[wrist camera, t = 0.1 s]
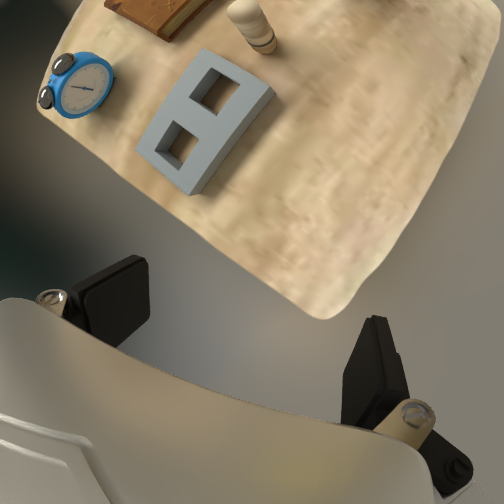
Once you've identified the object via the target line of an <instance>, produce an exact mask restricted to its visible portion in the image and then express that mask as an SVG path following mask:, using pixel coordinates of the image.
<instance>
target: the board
mask: <svg viewBox="0 0 504 504" xmlns="http://www.w3.org/2000/svg"><path fill="white" fill-rule="evenodd" d="M221 75H223V76H225V77H226V78H228V79H230V80H231V81H233V82H235V83H236V84H238V85H240V86H239V87H238V88H237V90H236V91H235V92H234V94H233V95H232V96H231V97H230V99H229V100H228V101H227V103H226V104H225V105H224V106H223V108H222V109H221V110H220V112H219V113H218V114H217V113H215V112H214V111H212V110H211V109H209V108H208V107H207V106H205V105H204V104H202V103H201V101H202V99H203V98H204V96H205V95H206V94H207V92H208V91H209V90H210V88H211V87H212V86H213V85H214V83H215V82H216V81H217V79H218V78H219V77H220V76H221ZM275 94H276V93H275V92H274V91H273V89H272V88H271V87H270V86H269V85H268V84H266V83H264V82H263V81H261V80H260V79H258V78H256V77H255V76H253V75H252V74H250V73H248V72H247V71H245V70H243V69H241V68H240V67H238V66H236V65H234V64H233V63H231V62H229V61H227V60H225V59H224V58H222V57H220V56H218V55H216V54H214V53H212V52H210V51H208V50H206V49H204V48H202V49H201V51H200V52H199V53H198V54H197V56H196V57H195V58H194V59H193V61H192V62H191V63H190V65H189V66H188V67H187V69H186V70H185V71H184V73H183V74H182V75H181V77H180V78H179V80H178V81H177V82H176V84H175V85H174V87H173V88H172V90H171V91H170V93H169V94H168V96H167V97H166V99H165V100H164V102H163V103H162V105H161V106H160V108H159V109H158V111H157V113H156V114H155V116H154V117H153V119H152V121H151V122H150V124H149V126H148V127H147V129H146V131H145V132H144V134H143V136H142V138H141V139H140V141H139V143H138V145H137V147H136V148H135V151H136V152H138V153H139V154H140V155H141V156H142V157H143V158H144V159H146V160H147V161H148V162H149V163H150V164H151V165H153V166H154V167H155V168H156V169H157V170H158V171H159V172H161V173H162V174H163V175H164V176H165V177H166V178H167V179H169V180H170V181H171V182H172V183H173V184H174V185H176V186H177V187H178V188H179V189H180V190H181V191H182V192H184V193H185V194H186V195H187V196H192V195H196V194H200V193H201V191H202V190H203V188H204V187H205V185H206V184H207V183H208V181H209V180H210V178H211V177H212V175H213V174H214V173H215V171H216V170H217V168H218V167H219V166H220V164H221V163H222V162H223V160H224V159H225V157H226V156H227V155H228V153H229V152H230V151H231V149H232V148H233V147H234V145H235V144H236V143H237V141H238V140H239V139H240V137H241V136H242V135H243V134H244V132H245V131H246V130H247V128H248V127H249V126H250V125H251V123H252V122H253V121H254V119H255V118H256V117H257V116H258V114H259V113H260V112H261V111H262V110H263V108H264V107H265V106H266V105H267V103H268V102H269V101H270V100H271V99H272V97H273V96H274V95H275ZM182 128H185V129H186V130H188V131H189V132H190V133H192V134H193V135H194V136H196V137H197V138H198V139H199V141H198V143H197V144H196V145H195V147H194V148H193V150H192V151H191V153H190V154H189V156H188V157H187V159H186V160H185V162H184V164H183V163H182V162H180V161H179V160H178V159H177V158H176V157H174V156H173V155H172V154H171V153H169V152H168V150H169V148H170V147H171V145H172V143H173V142H174V140H175V139H176V137H177V136H178V134H179V132H180V131H181V129H182Z"/></svg>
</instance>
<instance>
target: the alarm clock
mask: <svg viewBox="0 0 504 504" xmlns="http://www.w3.org/2000/svg"><path fill="white" fill-rule="evenodd" d="M114 79H116V78H113V70H112V67H111V65H110V64H109V63H108V62H107V61H106V60H104V59H102V58H101V57H99V56H97V55H95V54H93V53H91V52H79V53H75V54H72V53H65V54H62V55H61V56H59V57H58V58H57V59H56V60H55V61H54V63H53V65H52V75H51V76H50V79H49V81H48V85H47V86H45V87H44V88H42V90H41V91H40V94H39V101H38V103H39V104H40V106H41V107H42V108H43V109H46V110H48V109H51V108H53V107H54V108H55V109H56V110H57V111H58V112H59V113H60V114H61V115H62V116H64V117H66V118H69V119H75V118H80V117H83V116H85V115H87V114H89V113H91V112H92V111H93V110H95V109H96V108H97V107H98V106H99V107H100V104H101V103H102V102H103V100H104V99H105V98H106V96H107V95H108V93H109V91H110V89H111V86H112V82H113V80H114Z"/></svg>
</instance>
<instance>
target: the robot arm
mask: <svg viewBox="0 0 504 504" xmlns="http://www.w3.org/2000/svg"><path fill="white" fill-rule="evenodd" d="M69 290H70V296H71V297H69V298H67V294H66V292H64V291H63V290H60V289H51V290H47V291H45V292H42V293H41V294H40V295H39V296H38V297H37V299H36V301H35V302H32V301H29V300H26V299H20V298H8V299H5V300H3V301H0V504H492V502H491V500H490V499H489V498H488V496H487V495H486V493H485V491H484V490H483V489H482V487H481V486H480V484H479V483H478V482H477V481H475V482H474V483H473V481H472V480H471V479H472V476H473V465H472V463H471V461H470V459H469V458H468V457H467V456H466V455H465V454H463V453H462V452H461V451H460V450H458V449H457V448H456V447H454V446H453V445H452V444H451V443H449V442H448V441H447V440H445V439H444V438H443V437H442V436H440V435H439V434H438V433H437V432H435V431H434V430H433V427H434V424H435V422H436V417H435V414H434V411H433V410H432V409H431V407H430V406H429V405H428V404H427V403H425V402H423V401H421V400H418V399H410V396H409V391H408V386H407V382H406V378H405V373H404V370H403V365H402V361H401V358H400V355H399V354H398V353H396V349H395V346H394V342H393V338H392V334H391V331H390V328H389V324H388V320H387V318H386V317H381V316H376V315H372V317H371V318H366V320H365V323H364V325H363V328H362V330H361V333H360V335H359V337H358V340H357V342H356V345H355V347H354V349H353V352H352V354H351V356H350V358H349V361H348V363H347V366H346V367H345V370H344V373H343V386H342V387H343V388H342V409H341V410H342V411H341V424H340V423H334V422H329V421H324V420H319V419H316V418H310V417H306V416H301V415H296V414H292V413H288V412H284V411H280V410H276V409H272V408H268V407H265V406H261V405H258V404H254V403H251V402H247V401H244V400H241V399H237V398H234V397H231V396H228V395H225V394H222V393H219V392H217V391H214V390H211V389H208V388H205V387H203V386H200V385H197V384H195V383H192V382H189V381H187V380H184V379H182V378H179V377H177V376H174V375H172V374H170V373H167V372H165V371H163V370H160V369H158V368H156V367H154V366H151V365H149V364H147V363H145V362H143V361H141V360H138V359H136V358H134V357H132V356H130V355H128V354H126V353H124V352H122V351H120V350H118V349H116V347H117V346H118V345H120V344H121V343H122V342H123V341H124V340H125V339H126V338H127V337H129V336H130V335H131V334H132V333H133V332H134V331H136V330H137V329H138V328H139V327H140V326H141V325H143V324H144V323H145V322H146V321H147V320H148V319H149V316H150V301H149V275H148V263H147V262H146V260H145V258H143V257H140V256H137V255H131V256H129V257H127V258H125V259H123V260H121V261H119V262H117V263H115V264H113V265H111V266H109V267H107V268H106V269H104V270H102V271H100V272H98V273H96V274H94V275H92V276H90V277H88V278H86V279H85V280H83V281H81V282H79V283H77V284H75V285H74V286H72V287H70V288H69Z"/></svg>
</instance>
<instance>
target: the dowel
mask: <svg viewBox="0 0 504 504" xmlns="http://www.w3.org/2000/svg"><path fill="white" fill-rule="evenodd" d="M227 16H228V17H229V19H230V20H231V21H232V22H233V23H234V25H235V26H236V27H237V28H238V30H239V31H240V32H241V33H242V35H243V36H244V37H245V39H246V41H247V42H248V43H249V44H250V45H251V47H252V48H253V49H254V50H255V51H257V52H260V53H262V54H269V53H271V52H273V51H274V50H275V48H276V44H277V38H276V36H275V34H274V31H273V29H272V28H271V26H270V24H269V23H268V21H267V19H266V17H265V15H264V13H263V11H262V9H261V8H260V6H259V4H258V2H256V1H255V0H237V1H235V2H233V3H232V4H231V5H230V6H229V7H228V9H227Z"/></svg>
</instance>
